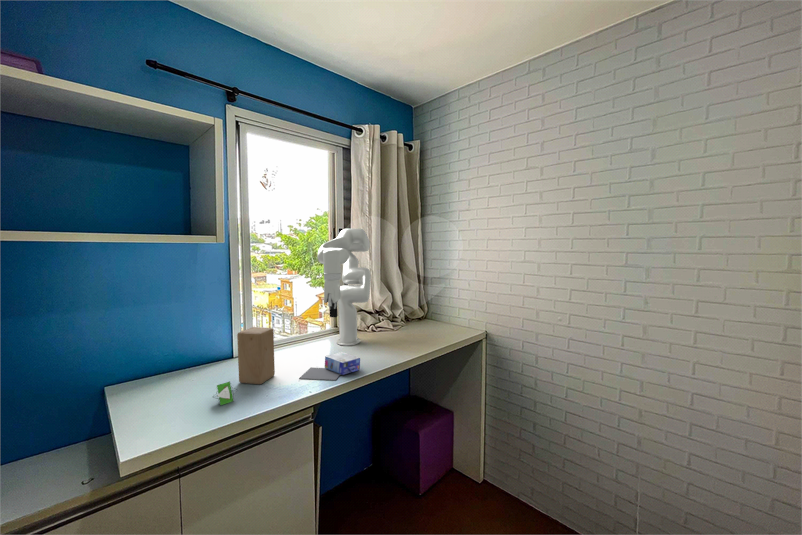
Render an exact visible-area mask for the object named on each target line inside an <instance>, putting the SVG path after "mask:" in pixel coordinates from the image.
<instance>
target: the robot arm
mask: <svg viewBox="0 0 802 535" xmlns="http://www.w3.org/2000/svg"><path fill="white" fill-rule="evenodd" d="M370 242H371V241H370V239H369V236H368V234H367V232H366V230H364V229H363V228H344V229H342V230H341V231H339V234H338V235H337V236H336V238H334V239H331V240H328V241H326V242H324V243H322V244H321V246H320V247H319V248H318V252H317V256H316V258H317V261H318V263H320V264H322V265H323V280H324V284H323V285H324V286H323V287H324V289H323V291H324V292H323V302H324V304H328V305H327V307H329V318H337V317H338V316H339V317H338V320H339V321H338V322H339V324H338V326H339V328H338V329H339V339H337V340H336V344H337V345H338V346H339V345H340V346H348V347H349V346H355V345H358V344H360V343H361V340H360V338H358V319H357V318H358V312H357V307H356V306H355V305H354V304H353V303H355V304H357V303H358V304H359V303H363V304H364V303H367V302H369V300H370V297H371V296H370V294H371V281H372V277H371V276H372V274H371V271H370V269H369V268H368V267H359V264H360V263H359V259H358V258H357V256H356V255H355V254H354V252H357V253H358V252H360V253H362V252H363V253H364V252H365V253H366V252H368V251H369V249H370V246H371V243H370ZM341 265H342V266H341ZM341 267H342V268H341ZM340 281H342V282H343V285H341V282H340Z"/></svg>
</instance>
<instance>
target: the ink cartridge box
mask: <svg viewBox="0 0 802 535" xmlns="http://www.w3.org/2000/svg"><path fill="white" fill-rule="evenodd" d="M324 357H325V358H324V368H326V369H329V370H331V371H334V372H336V373H339V374H341V375H342V376H344V375H347V374H350V373H354V372H358V371H359V370H361V357H358V356H355V355H352V354H350V353H346V352H344V351H339V352H337V353H333V354H329V355H326V356H324ZM341 375H340V376H341Z"/></svg>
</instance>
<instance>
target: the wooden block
mask: <svg viewBox="0 0 802 535" xmlns="http://www.w3.org/2000/svg"><path fill="white" fill-rule="evenodd" d="M236 336H237V337H236V338H237V361H238V382H239V383H241V384H250V385H251V384H252V385H253V384H254V385H262V384H264V383H265V382H266V381H268V380H270V379H271V378H273V377H274V376H275V372H276V371H275V370H276V369H275V336H274V329H273V328H272V327H261V326H260V327H257V326H256V327H255V326H252V327H250V328H247V329H245V330H241V331H239V332H237V335H236Z"/></svg>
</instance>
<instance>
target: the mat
mask: <svg viewBox="0 0 802 535" xmlns="http://www.w3.org/2000/svg"><path fill="white" fill-rule="evenodd" d="M340 376H341V374H339V373H336V372H334V371H331V370H329V369H326V368H325V367H310V368H309V369H308V370H306V371H305V372H304V373H303V374H302V375H301V376H300V377H299V378H298V379H299V380H309V381H310V380H311V381H312V380H314V381H335V382H336V381H337V380H338V379H339V377H340Z"/></svg>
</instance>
